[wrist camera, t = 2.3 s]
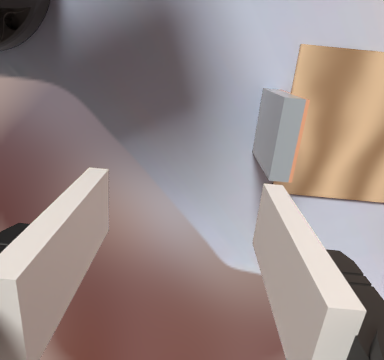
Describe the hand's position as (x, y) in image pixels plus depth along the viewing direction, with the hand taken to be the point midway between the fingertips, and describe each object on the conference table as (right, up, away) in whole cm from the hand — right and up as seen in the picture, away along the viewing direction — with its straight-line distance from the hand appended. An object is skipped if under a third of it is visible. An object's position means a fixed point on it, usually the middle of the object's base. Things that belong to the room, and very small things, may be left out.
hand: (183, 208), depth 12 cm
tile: (+8, +7, +22) cm, 24 cm away
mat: (+21, +6, +22) cm, 31 cm away
